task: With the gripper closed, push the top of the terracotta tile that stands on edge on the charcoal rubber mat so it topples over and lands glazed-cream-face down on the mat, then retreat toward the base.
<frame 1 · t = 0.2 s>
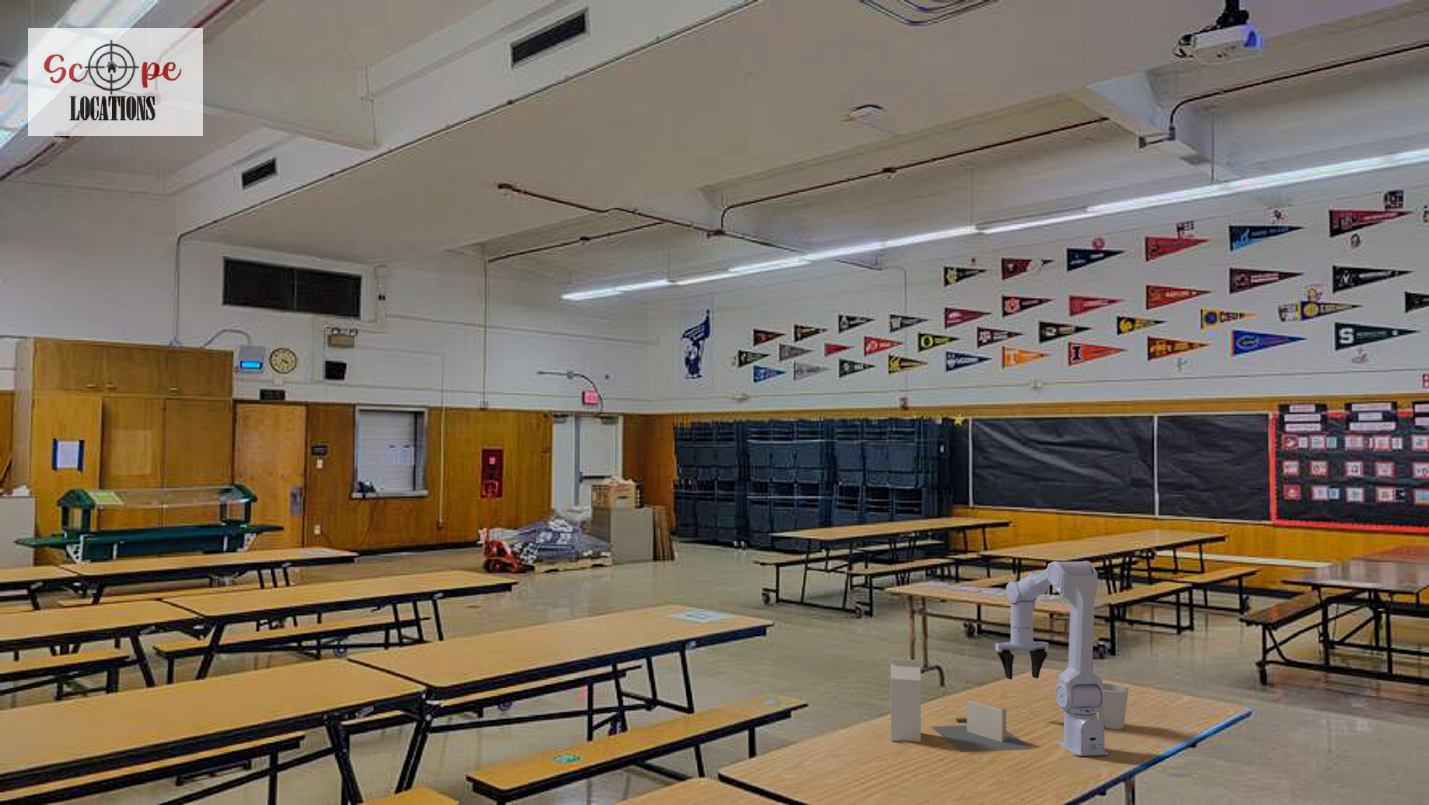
hand: (1022, 678, 241), 10 cm above the table, tool pointing down, fingers open, 7 cm apart
milk carton: (905, 738, 221), on the table
dixie cup: (1111, 727, 233), on the table
mat: (980, 739, 220), on the table
tile: (986, 735, 222), resting on mat
turner: (955, 723, 233), on the table
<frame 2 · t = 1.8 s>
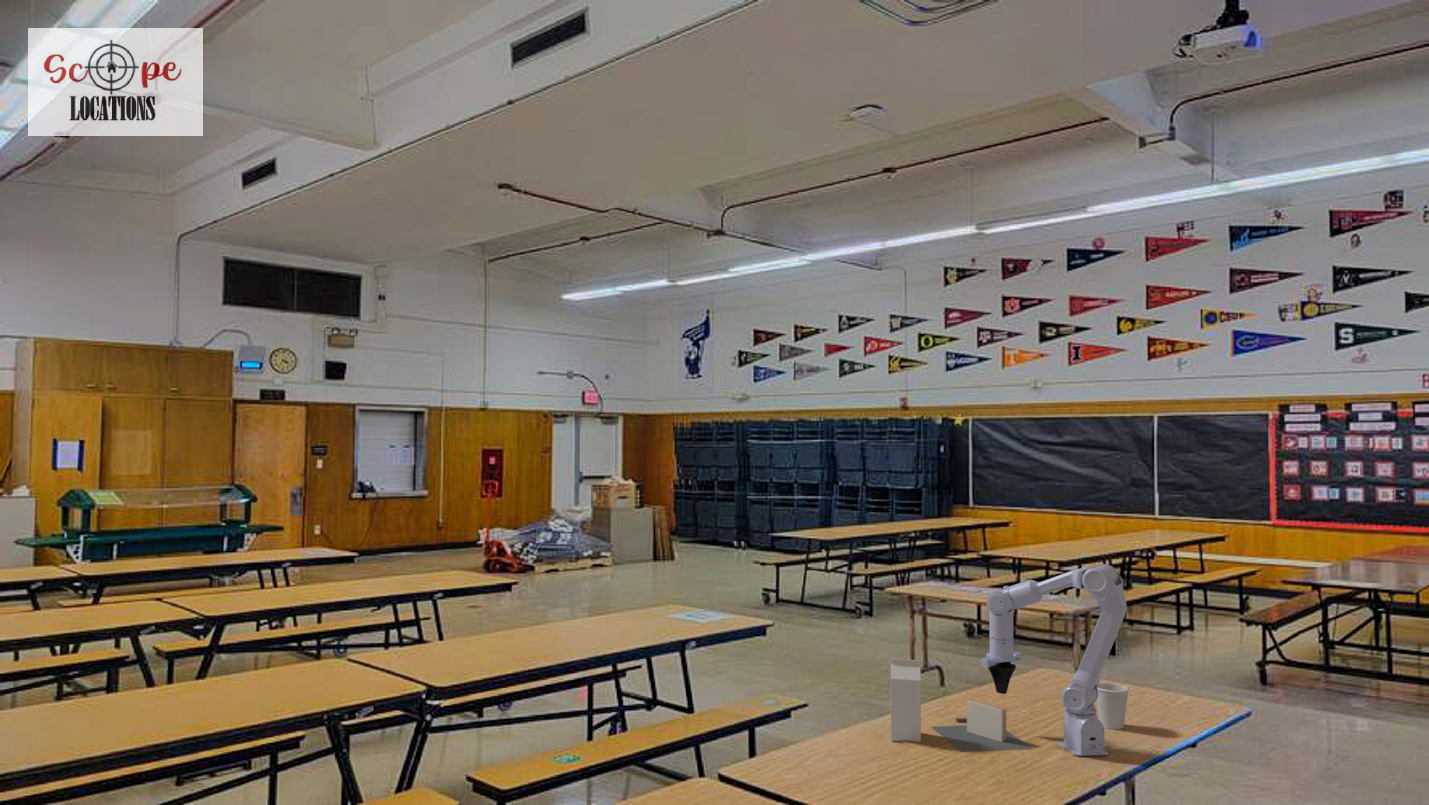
hand: (1001, 692, 226), 10 cm above the table, tool pointing down, fingers closed
nothing on the table moved.
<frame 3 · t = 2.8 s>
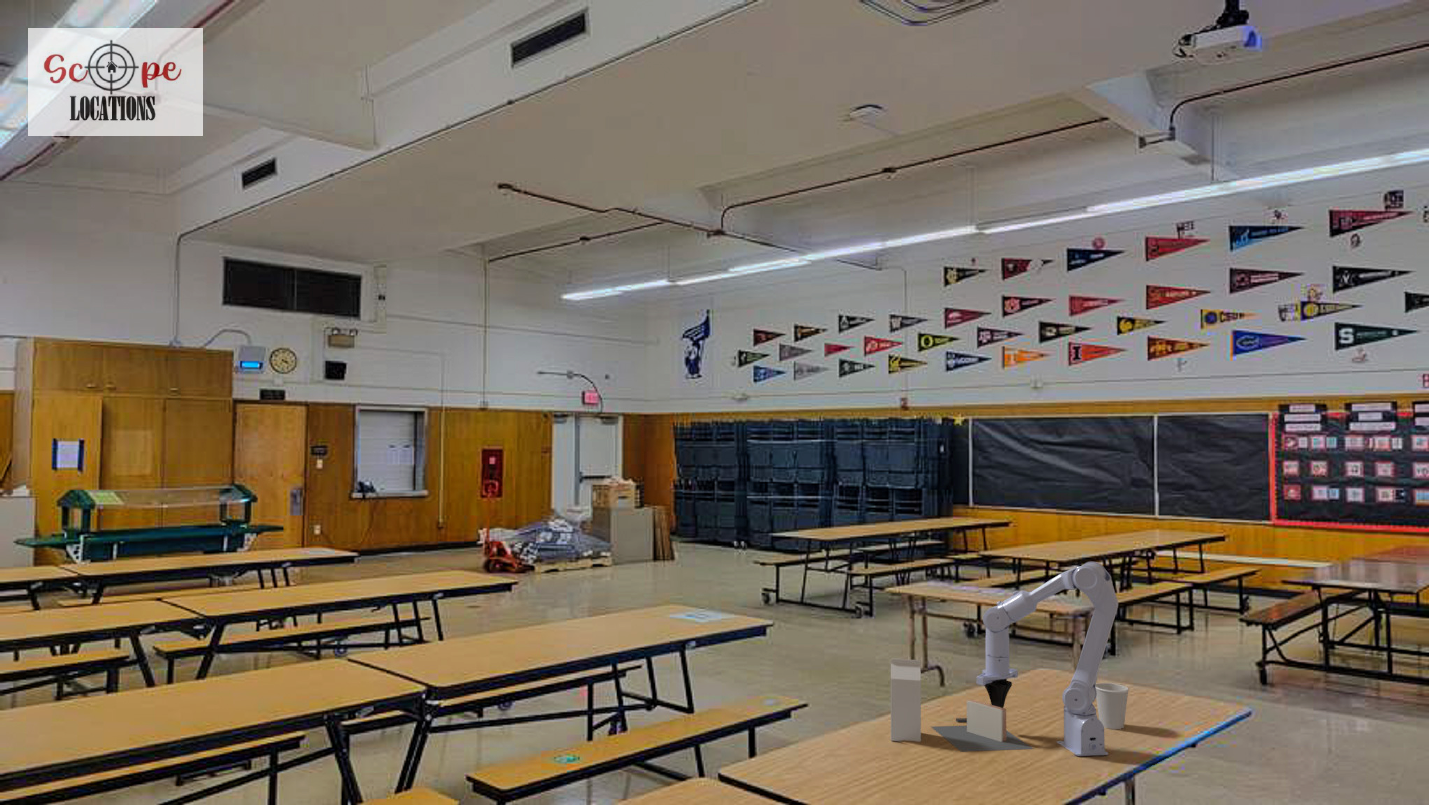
hand: (997, 710, 225), 6 cm above the table, tool pointing down, fingers closed
nothing on the table moved.
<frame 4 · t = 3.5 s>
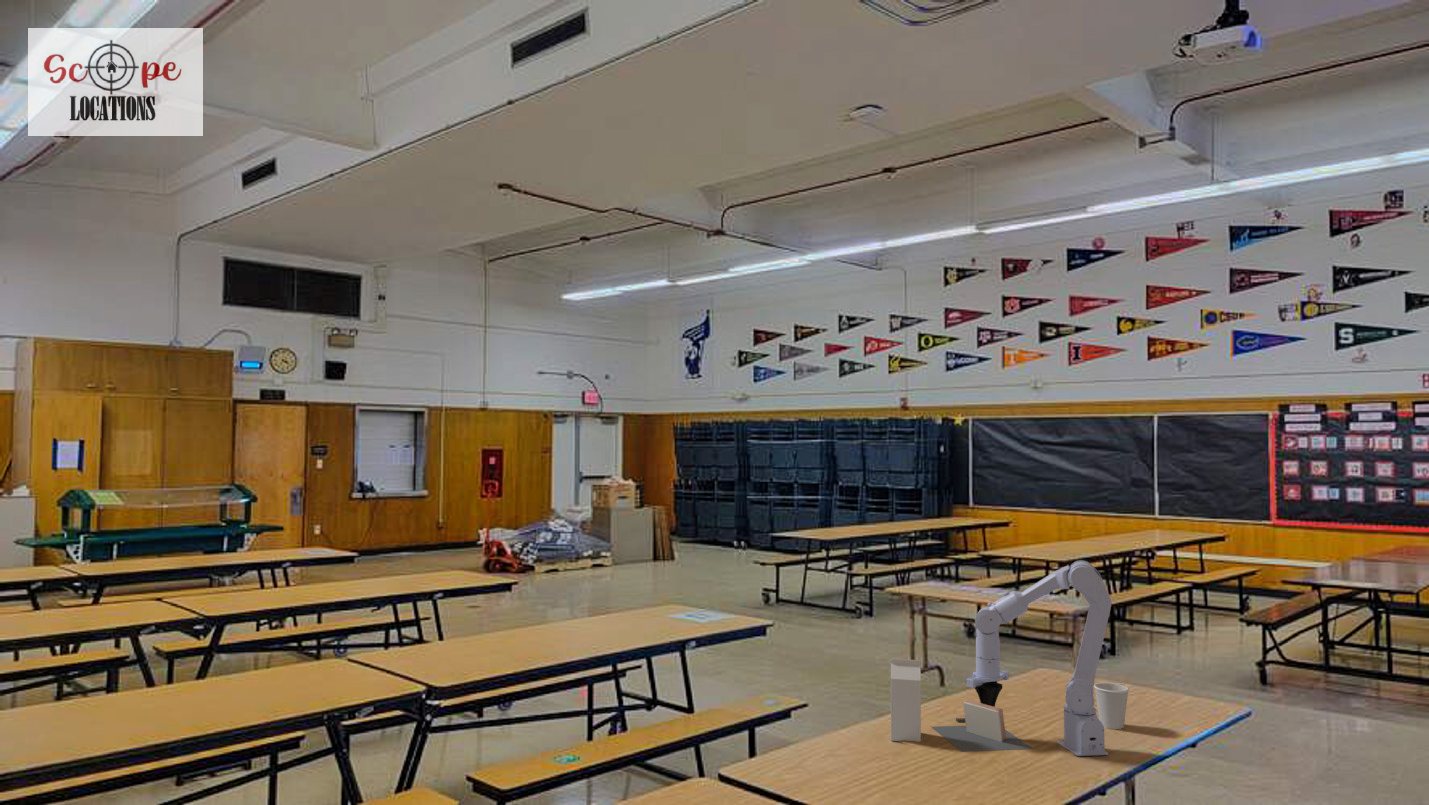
hand: (988, 713, 222), 6 cm above the table, tool pointing down, fingers closed
tile: (986, 735, 222), point 1 cm above the table, tilted 12°, touching gripper, mat
everything else where it was.
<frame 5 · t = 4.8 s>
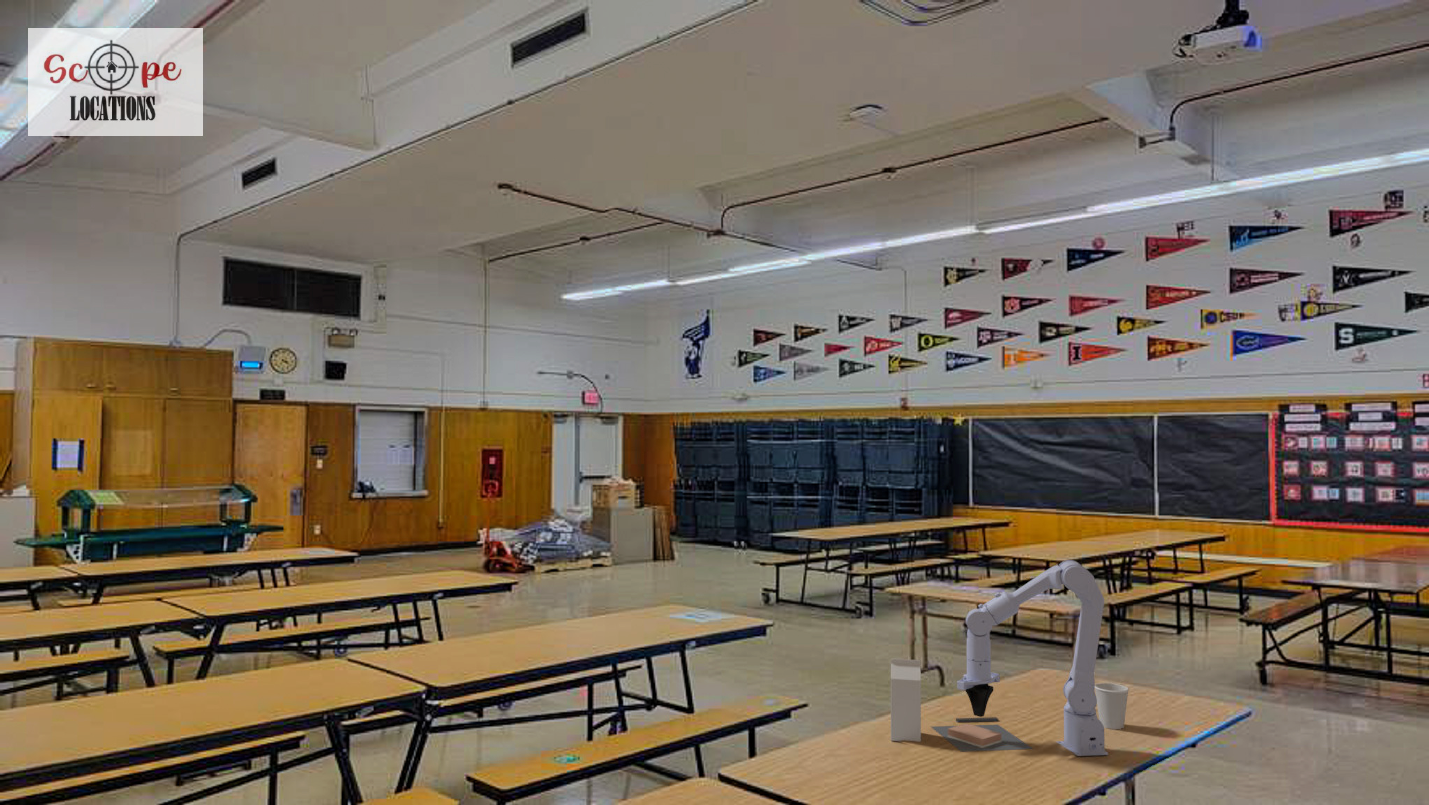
hand: (978, 715, 220), 6 cm above the table, tool pointing down, fingers closed
tile: (983, 732, 221), point 1 cm above the table, tilted 90°, touching mat
everything else where it was.
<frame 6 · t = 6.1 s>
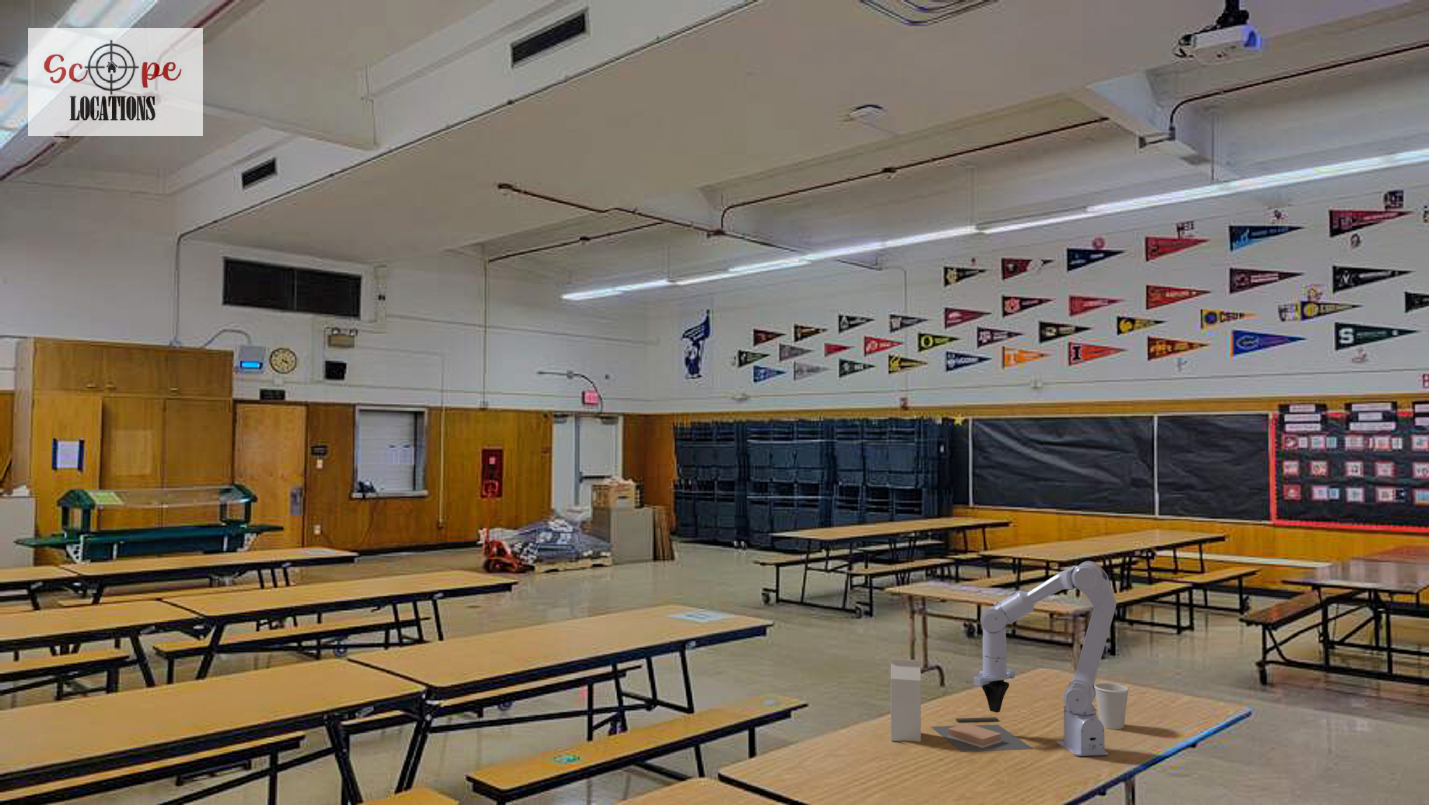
hand: (994, 711, 224), 6 cm above the table, tool pointing down, fingers closed
nothing on the table moved.
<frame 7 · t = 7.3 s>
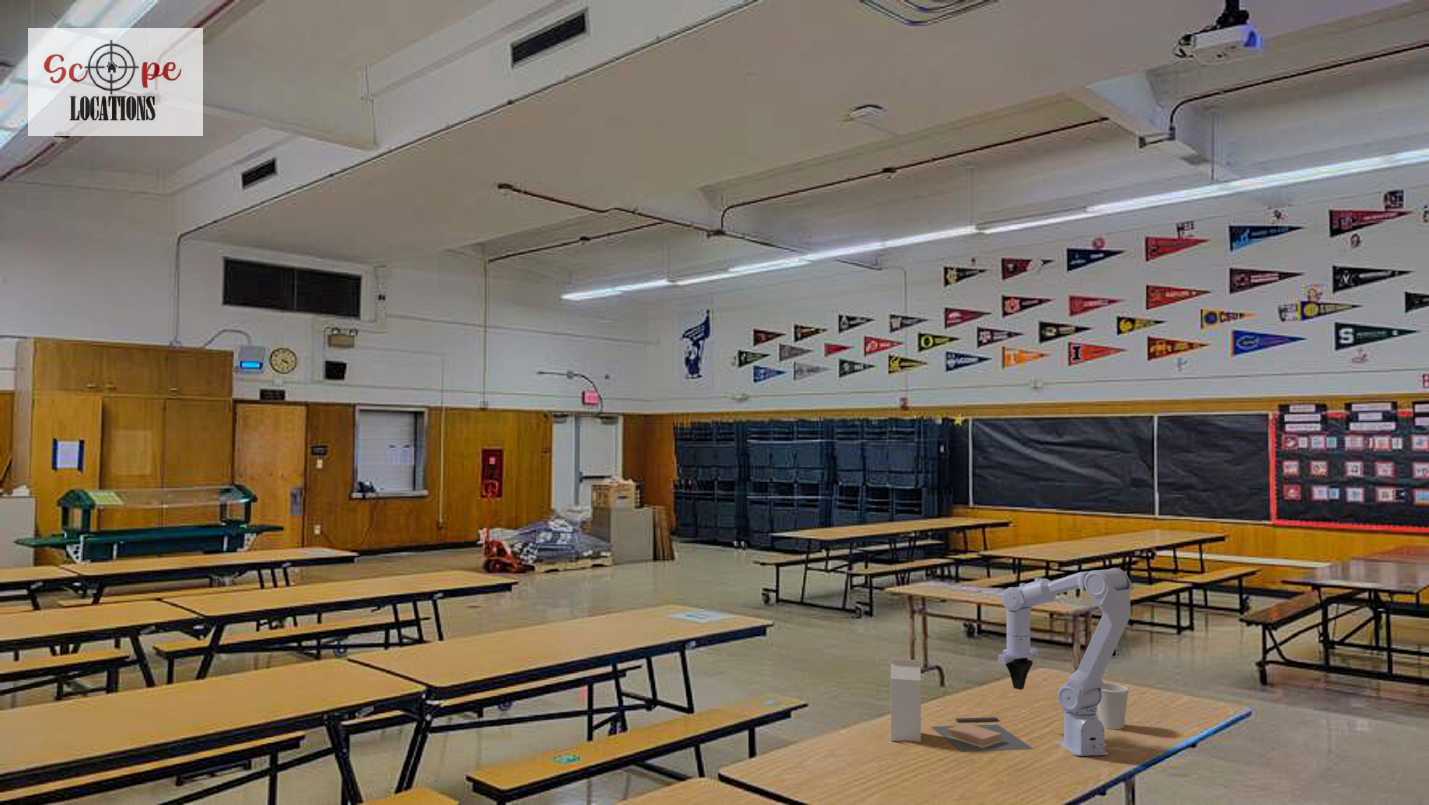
hand: (1018, 688, 229), 10 cm above the table, tool pointing down, fingers closed
nothing on the table moved.
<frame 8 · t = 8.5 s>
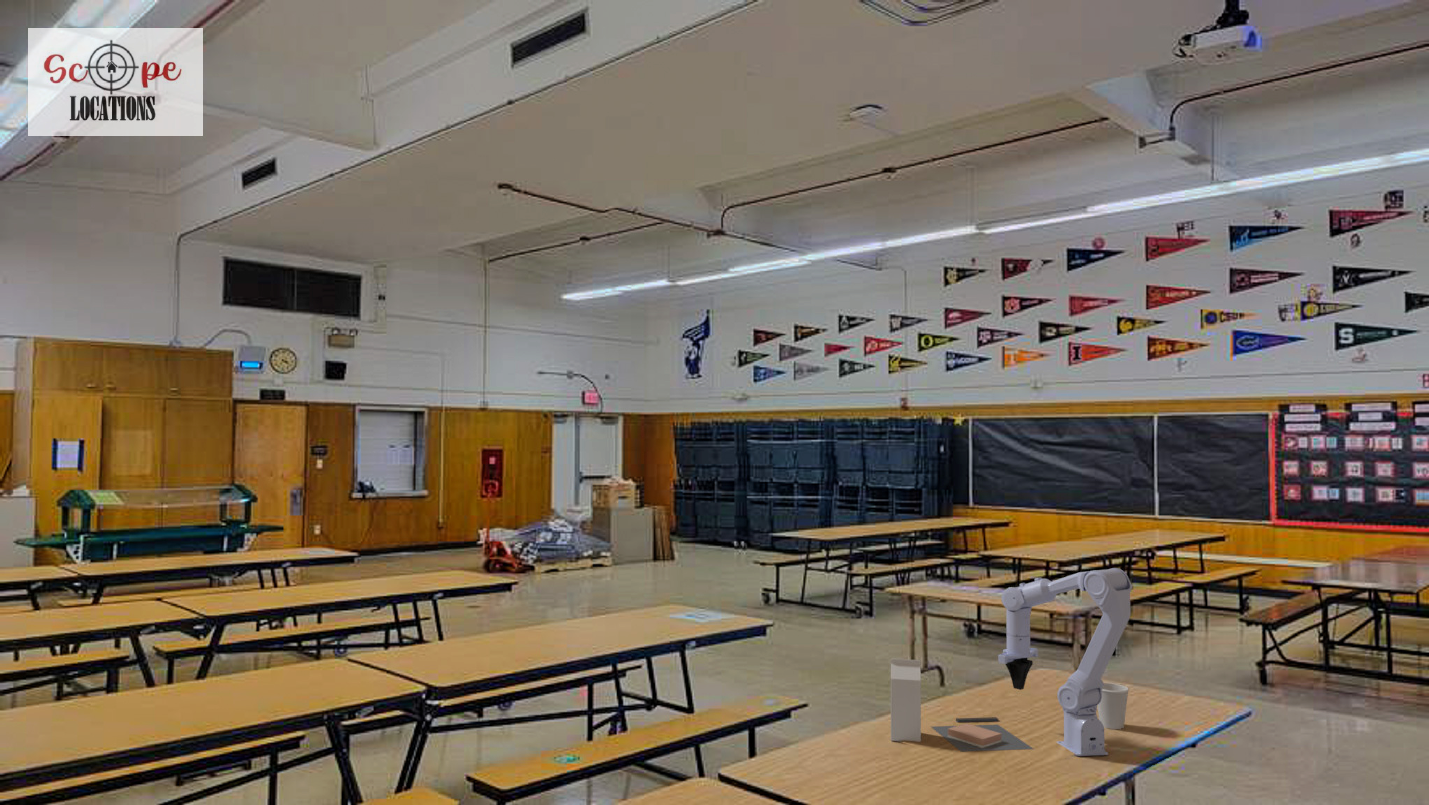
hand: (1018, 688, 229), 10 cm above the table, tool pointing down, fingers closed
nothing on the table moved.
at the end: tile tilted 90°; tile inside the target area on the mat (1.2 cm from its centre), point 1.5 cm above the mat's base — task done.
